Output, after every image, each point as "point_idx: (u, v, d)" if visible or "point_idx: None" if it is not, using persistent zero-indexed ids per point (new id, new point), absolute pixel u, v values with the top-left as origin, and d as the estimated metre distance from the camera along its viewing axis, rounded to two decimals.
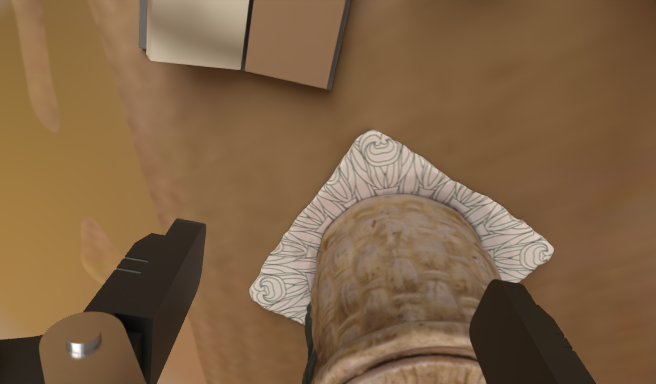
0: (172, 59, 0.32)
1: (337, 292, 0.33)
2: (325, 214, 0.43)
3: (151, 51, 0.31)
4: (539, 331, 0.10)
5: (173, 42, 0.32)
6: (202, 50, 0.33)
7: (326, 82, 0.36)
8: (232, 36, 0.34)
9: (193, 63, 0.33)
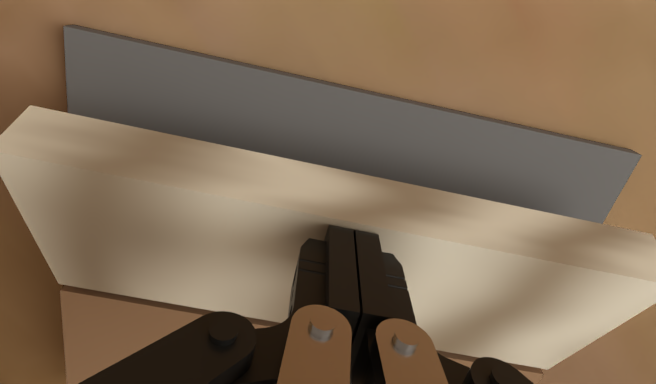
0: (17, 190, 0.12)
1: None
2: None
3: (15, 154, 0.11)
4: (370, 270, 0.10)
5: (63, 200, 0.12)
6: (69, 240, 0.14)
7: None
8: (122, 283, 0.16)
9: (29, 223, 0.13)
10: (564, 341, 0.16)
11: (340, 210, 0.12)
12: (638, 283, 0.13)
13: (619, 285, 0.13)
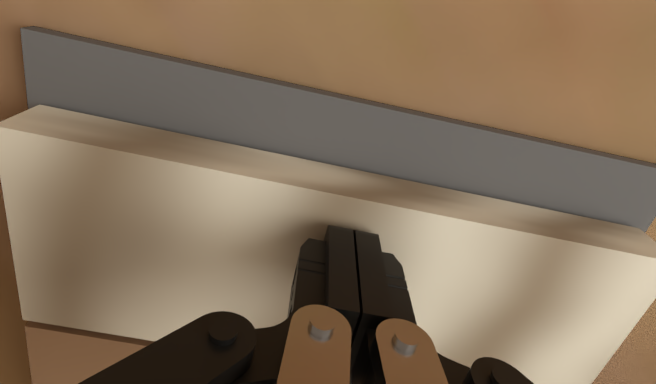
0: (10, 179, 0.12)
1: None
2: None
3: (20, 131, 0.11)
4: (370, 270, 0.10)
5: (58, 189, 0.12)
6: (51, 248, 0.13)
7: None
8: (99, 311, 0.14)
9: (12, 225, 0.13)
10: (582, 359, 0.15)
11: (343, 190, 0.12)
12: (640, 262, 0.13)
13: (623, 266, 0.13)
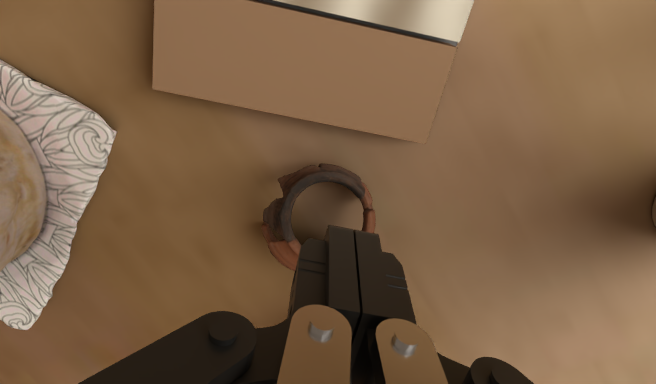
0: None
1: None
2: None
3: None
4: (370, 270, 0.10)
5: None
6: None
7: (160, 89, 0.30)
8: None
9: None
10: None
11: None
12: None
13: None
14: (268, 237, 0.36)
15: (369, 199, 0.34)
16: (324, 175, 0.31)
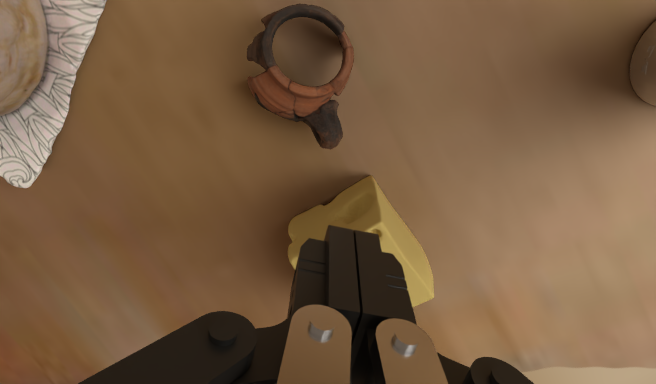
0: None
1: None
2: None
3: None
4: (370, 270, 0.10)
5: None
6: None
7: None
8: None
9: None
10: None
11: None
12: None
13: None
14: None
15: (349, 43, 0.35)
16: (305, 7, 0.33)
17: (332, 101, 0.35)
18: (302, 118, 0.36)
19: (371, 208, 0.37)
